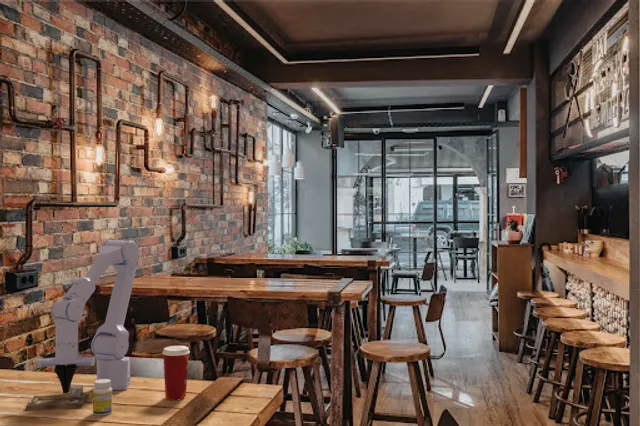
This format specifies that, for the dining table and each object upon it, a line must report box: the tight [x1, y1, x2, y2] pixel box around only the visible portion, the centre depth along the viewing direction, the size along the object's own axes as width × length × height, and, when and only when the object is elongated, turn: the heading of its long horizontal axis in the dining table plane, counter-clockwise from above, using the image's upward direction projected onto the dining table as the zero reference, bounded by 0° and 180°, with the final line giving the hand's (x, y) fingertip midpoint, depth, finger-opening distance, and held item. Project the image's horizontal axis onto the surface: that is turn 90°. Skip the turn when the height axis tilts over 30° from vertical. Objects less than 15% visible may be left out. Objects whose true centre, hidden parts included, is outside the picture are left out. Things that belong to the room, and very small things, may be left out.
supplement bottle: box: [92, 379, 113, 417], centre depth 161 cm, size 5×5×8 cm
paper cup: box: [161, 345, 191, 401], centre depth 175 cm, size 8×8×14 cm
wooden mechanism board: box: [25, 392, 90, 411], centre depth 168 cm, size 14×9×2 cm, turn 100°
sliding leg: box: [68, 384, 84, 398], centre depth 168 cm, size 3×7×3 cm, turn 10°
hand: (66, 392), depth 169 cm, fingers closed
